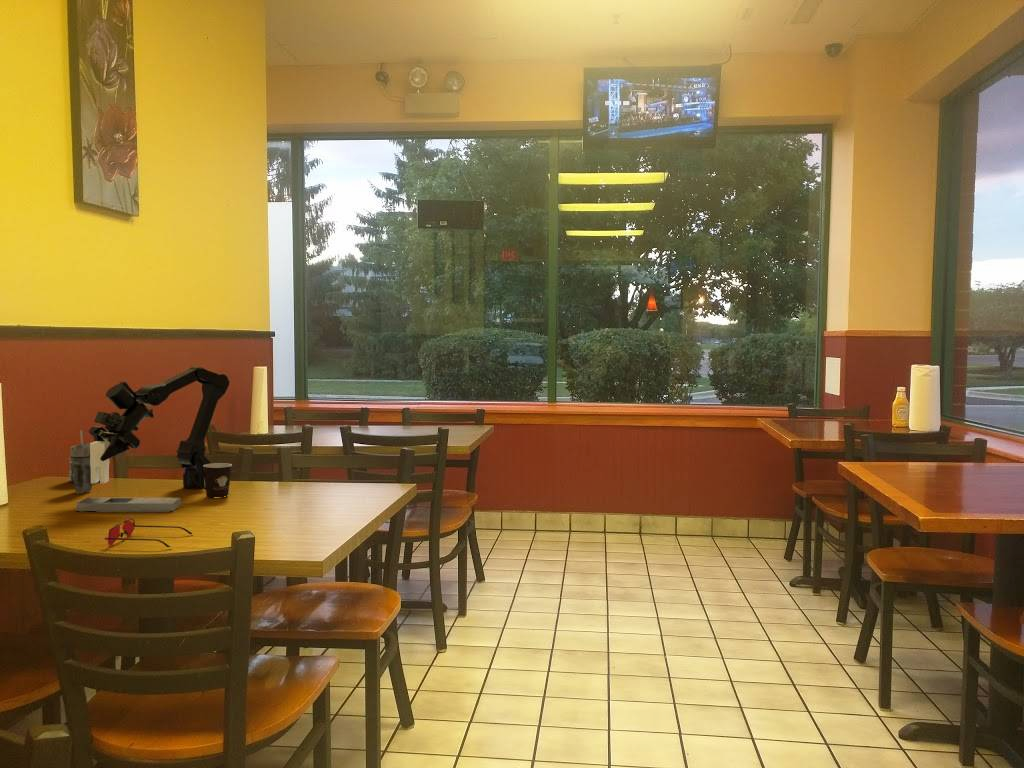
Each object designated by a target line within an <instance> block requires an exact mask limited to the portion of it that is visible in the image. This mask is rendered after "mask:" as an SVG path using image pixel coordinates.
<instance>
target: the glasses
mask: <svg viewBox="0 0 1024 768" xmlns="http://www.w3.org/2000/svg"><path fill="white" fill-rule="evenodd" d="M121 525H122V527H121ZM135 528H166V529H167V528H168V529H174V528H175V529H181V530H183V531H185V532H186V533H188V534H189V535H190V534H192V533H193V532H191V531H190V530H188V529H187V528H184V527H183V526H172V525H171V526H170V525H169V526H168V525H167V526H166V525H143V524H140V525H139V524H137V525H136V522H135V519H134V518H130V519H125V520H124V521H123V522H121V523H118V524H115V526H112V527H111V528H109V529H108V535H107V536H104V539H103V540H105V541H107V544H108V546H109V547H110V545H112V546H113V545H114V543H116V541H117V540H119V541H151V542H152V541H155V542H158V543H161V544H162V545H164V546H165V547H166V548H168V547H171V546H170V545H169V544H167V543H166V542H165V541H163V540H160V539H156V538H130V537H131V536H132V534H133V532H134V530H135ZM121 529H122V531H123V532H121ZM124 535H125V536H127V538H124V537H123V536H124ZM130 535H131V536H130ZM128 536H130V537H128Z"/></svg>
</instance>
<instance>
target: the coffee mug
mask: <svg viewBox="0 0 1024 768" xmlns="http://www.w3.org/2000/svg"><path fill="white" fill-rule="evenodd" d="M232 468H233V464H232V463H224V462H217V463H211V464H206V465H203V470H204V472H202V471H196V472H195V473H193V475H192V480H193V481H194V483H196V484H197V485H198V486H200V487H202V488H201V489H204V490H205V495H206V498H207V497H209V498H208V499H211V498H214V497H224V496H227V495H228V496H229V493H230V492H229V491H230V484H231V477H232ZM197 473H202V474H203V476H204V479H205V487H204V486H202V485H200V484H198V483H197V482H196V481H195V480H194V476H195V474H197Z"/></svg>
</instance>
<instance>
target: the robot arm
mask: <svg viewBox="0 0 1024 768" xmlns="http://www.w3.org/2000/svg"><path fill="white" fill-rule="evenodd" d="M195 382H197V383H199V384H201V392H202V393H201V394H202V399H201V402H200V404H199V407H198V411H197V413H196V416H195V419H194V422H193V425H192V427H191V430H190V433H189V437H188V438H187V439H186V440H182V439H181V440H180V442H179V446H178V448H177V450H176V453H177V454H176V458H177V460H178V462H179V464H180V467H181V469H184V472H183V474H182V485H183V487H182V488H183V489H203V488H202V487H200V486H198V485H197V484H196V483H194V481H193V480H192V475H193V473H195V472H196V471H202V472H204V470H203V465H206V464H212V462H211V461H210V460H209V458H207V457H206V451H207V450H206V444H205V440H206V437H207V433H208V431H209V428H210V425H211V423H212V422H211V421H212V419H213V416H214V413H215V410H216V408H217V404H218V401H219V400H221V398H223V396H224V395H225V394H226V393H227V390H228V388H229V386H230V380H229V378H228V376H227V375H226V374H224V373H216V372H214V371H211V370H207V369H206V368H204V367H200V366H190V367H189V368H188V369H187V370H184V371H182V372H181V373H179V374H176V375H174V376H172V377H171V378H168V379H166V380H164V381H162V382H159V383H152V384H148V385H145V386H142V387H140V388H138V389H137V390H136V391H134V390H133V389H132V388H131V387H130V386H129V383H127V382H126V381H120V382H119V383H117V384H115V385H114V386H111V387H109V388H108V390H107V391H106V393H105V397H106V398H107V399H108V400H109V401H110V402H111V403H112V404H113V405H114V406H115V407H116V408H117V409H118V410H124V411H122V413H121V414H120V413H119V412H117V411H112V412H104V411H97V412H96V415H95V417H94V420H93V422H95V423H96V424H97V423H99V425H100V424H101V425H103V426H104V427H103V426H97V425H95V426H91V427H90V428H89V429H88V430H87V432H88V434H89V435H90V436H91V437H93V442H95V441H109V446H108V448H107V449H106V451H105V452H104V453H103V455H102V456H101V458H100V460H101V461H105V460H107V459H109V460H110V458H114V457H115V456H117V455H119V454H123V453H124V452H127V451H130V449H133V450H137V449H138V448H139V447H140V446H141V439H140V438H138V436H136V434H134V432H137V431H138V430H139V427H138V426H139V424H140V423H141V422H142V421H143V420H144V419H145V418H151V419H153V418H154V413H153V412H154V411H153V408H149V407H147V406H152V407H156V406H160V405H161V404H163V403H164V402H165V401H166V400H168V398H169V397H170V395H172V394H173V393H175V392H177V391H179V390H181V389H183V388H185V387H187V386H189V385H191V384H194V383H195ZM88 457H89V458H90V454H89V456H88ZM194 480H195V481H196V482H197V483H198V484H200V485H202V486H204V487H205V479H204V476H203V474H202V473H197V474H195V476H194Z"/></svg>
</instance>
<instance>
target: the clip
mask: <svg viewBox="0 0 1024 768" xmlns="http://www.w3.org/2000/svg"><path fill="white" fill-rule="evenodd" d="M89 444H90V467H91V483H92V484H96V483H99V484H106V483H109V481H110V458H109V459H107V460H105V461H101V460H100V458H101V456H102V455H103V453H104V452H105V451H106V449H107V448H108V446H109V445H110V443H109V441H95V442H94V441H93V442H89ZM99 481H100V482H99Z"/></svg>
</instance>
